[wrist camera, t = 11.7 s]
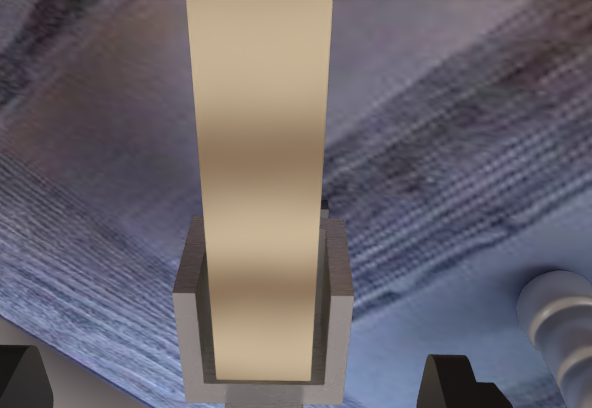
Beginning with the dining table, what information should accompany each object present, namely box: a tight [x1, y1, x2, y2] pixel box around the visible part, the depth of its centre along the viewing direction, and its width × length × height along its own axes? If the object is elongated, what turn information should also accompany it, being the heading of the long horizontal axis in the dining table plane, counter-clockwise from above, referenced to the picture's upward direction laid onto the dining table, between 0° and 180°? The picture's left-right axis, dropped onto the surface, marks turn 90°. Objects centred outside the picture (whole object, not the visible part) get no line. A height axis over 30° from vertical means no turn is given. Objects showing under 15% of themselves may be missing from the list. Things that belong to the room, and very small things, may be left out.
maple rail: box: [186, 0, 333, 381], centre depth 22 cm, size 24×4×6 cm, turn 179°
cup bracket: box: [172, 201, 354, 408], centre depth 33 cm, size 12×8×22 cm, turn 179°
